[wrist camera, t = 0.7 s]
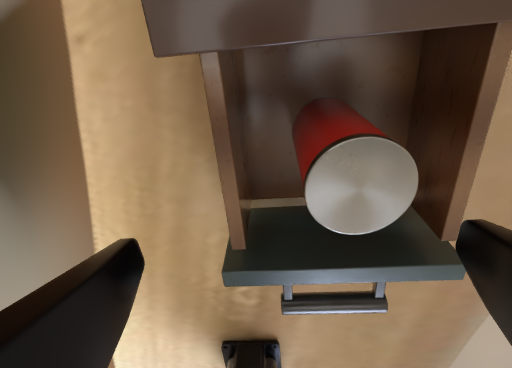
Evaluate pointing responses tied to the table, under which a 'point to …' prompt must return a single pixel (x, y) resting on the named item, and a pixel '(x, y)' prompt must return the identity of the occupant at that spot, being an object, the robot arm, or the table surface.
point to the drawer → (382, 117)
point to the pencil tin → (351, 169)
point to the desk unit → (301, 21)
